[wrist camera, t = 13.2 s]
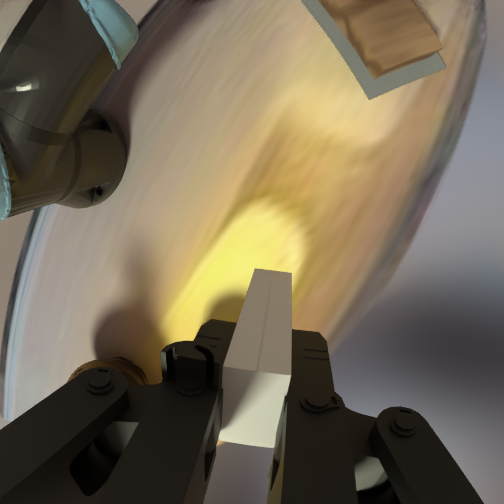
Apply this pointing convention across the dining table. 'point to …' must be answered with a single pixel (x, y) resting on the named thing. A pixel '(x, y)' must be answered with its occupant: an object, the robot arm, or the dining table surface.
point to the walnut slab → (384, 32)
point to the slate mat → (357, 66)
